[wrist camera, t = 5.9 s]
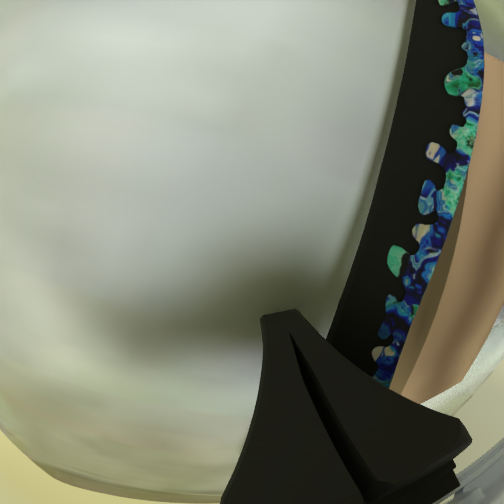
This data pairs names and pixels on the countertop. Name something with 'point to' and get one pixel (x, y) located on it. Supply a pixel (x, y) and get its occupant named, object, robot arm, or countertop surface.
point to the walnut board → (463, 266)
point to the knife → (414, 186)
